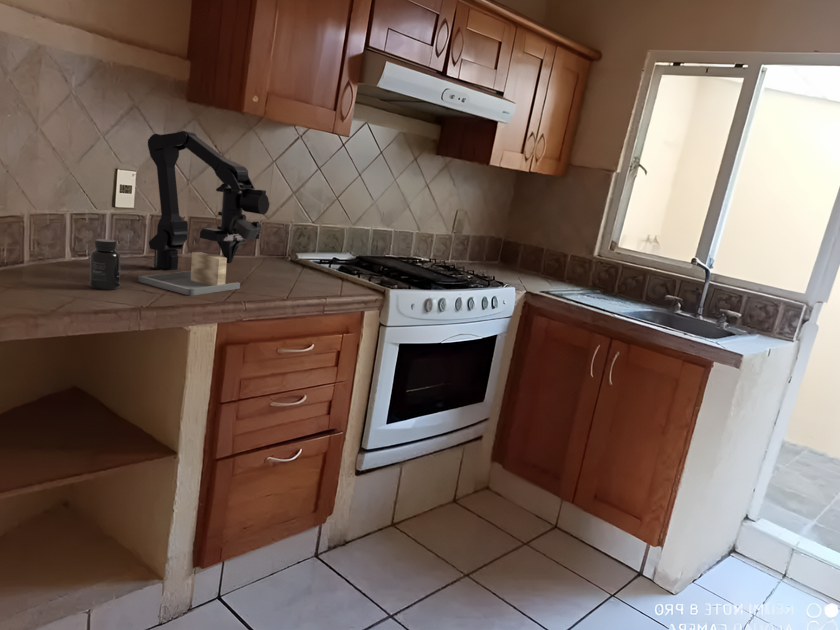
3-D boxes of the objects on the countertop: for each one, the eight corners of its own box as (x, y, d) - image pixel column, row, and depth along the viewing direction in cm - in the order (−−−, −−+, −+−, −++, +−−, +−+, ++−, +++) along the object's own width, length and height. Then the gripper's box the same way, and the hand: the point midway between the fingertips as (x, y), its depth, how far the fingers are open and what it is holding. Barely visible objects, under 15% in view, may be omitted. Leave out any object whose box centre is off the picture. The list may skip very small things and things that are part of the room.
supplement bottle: (125, 289, 158) (126, 242, 156) (99, 291, 153) (100, 243, 150) (109, 283, 162) (110, 237, 159) (83, 285, 156) (84, 238, 153)
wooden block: (190, 280, 176) (192, 252, 174) (198, 279, 178) (200, 251, 177) (217, 287, 172) (219, 258, 170) (225, 286, 174) (226, 258, 173)
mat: (138, 283, 166) (138, 276, 166) (189, 277, 182) (190, 270, 182) (190, 297, 158) (191, 290, 158) (239, 290, 174) (240, 283, 174)
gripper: (230, 213, 166) (227, 270, 170) (275, 213, 183) (271, 265, 186) (199, 207, 171) (196, 263, 174) (246, 208, 187) (242, 259, 191)
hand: (228, 263), depth 181 cm, fingers closed
